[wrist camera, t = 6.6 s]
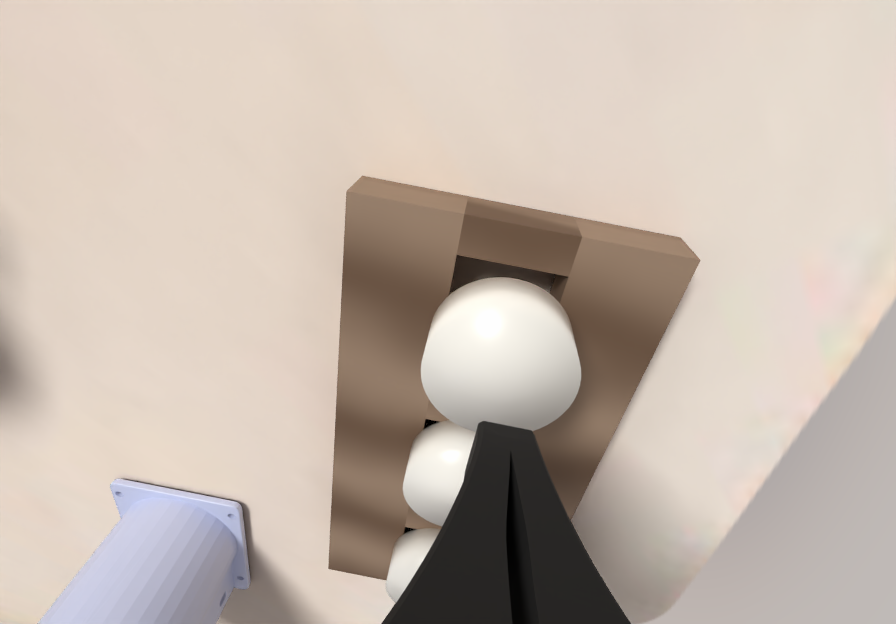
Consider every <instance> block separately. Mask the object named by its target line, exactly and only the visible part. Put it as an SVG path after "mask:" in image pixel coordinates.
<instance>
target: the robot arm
mask: <svg viewBox="0 0 896 624" xmlns="http://www.w3.org/2000/svg"><path fill="white" fill-rule="evenodd" d="M110 488H111V491H112V494H113V497H114V500H115V502H116V505H117V508H118V511H119V514H120V517H121V519H120V520H119V522H118V523H117V524H116V525H115V527H114V528H113V529H112V530H111V532H110V533H109V534H108V535H107V537H106V538H105V539H104V540H103V542H102V543H101V544H100V545H99V547H98V548H97V549H96V550H95V552H94V553H93V554H92V555H91V557H90V558H89V559H88V561H87V562H86V563H85V564H84V566H83V567H82V568H81V569H80V571H79V572H78V573H77V574H76V576H75V577H74V578H73V579H72V581H71V582H70V583H69V584H68V586H67V587H66V588H65V589H64V591H63V592H62V593H61V594H60V596H59V597H58V598H57V599H56V601H55V602H54V603H53V604H52V606H51V607H50V608H49V609H48V611H47V612H46V613H45V615H44V616H43V617H42V618H41V620H40V621H39V622H38V623H37V624H216V623H217V621H218V619H219V617H220V614H221V612H222V610H223V608H224V606H225V604H226V602H227V600H228V598H229V596H230V594H231V592H232V590H233V588H238V589H247V588H248V587H249V585H250V583H251V581H250V572H249V563H248V555H247V546H246V538H245V529H244V520H243V512H242V507H241V505H240V504H239V503H237V502H235V501H231V500H226V499H221V498H215V497H210V496H205V495H200V494H195V493H190V492H185V491H180V490H175V489H170V488H165V487H160V486H155V485H150V484H145V483H139V482H134V481H129V480H124V479H115V480H114V481H113V482H112V483H111V484H110ZM382 624H631V623H630V622H629V620H628V619H627V617H626V616H625V614H624V612H623V611H622V609H621V608H620V606H619V605H618V603H617V602H616V600H615V599H614V597H613V595H612V594H611V592H610V591H609V589H608V587H607V586H606V584H605V582H604V581H603V579H602V577H601V576H600V574H599V573H598V571H597V569H596V567H595V566H594V564H593V562H592V560H591V559H590V557H589V555H588V553H587V551H586V550H585V548H584V546H583V544H582V542H581V540H580V538H579V536H578V534H577V532H576V531H575V529H574V527H573V525H572V523H571V521H570V519H569V517H568V514H567V512H566V510H565V508H564V506H563V504H562V502H561V499H560V497H559V495H558V493H557V491H556V488H555V486H554V484H553V482H552V479H551V477H550V474H549V472H548V469H547V467H546V465H545V462H544V459H543V457H542V454H541V452H540V449H539V446H538V443H537V440H536V437H535V435H534V433H533V432H532V430H528V429H523V428H518V427H513V426H508V425H503V424H498V423H492V422H487V421H482V422H480V423H478V426H477V430H476V434H475V437H474V441H473V444H472V448H471V451H470V455H469V458H468V462H467V466H466V469H465V475H464V481H463V483H462V486H461V488H460V491H459V493H458V495H457V497H456V499H455V501H454V504H453V506H452V508H451V510H450V512H449V514H448V516H447V518H446V520H445V522H444V524H443V526H442V528H441V530H440V532H439V533H438V535H437V537H436V539H435V541H434V543H433V544H432V546H431V548H430V550H429V551H428V553H427V555H426V557H425V558H424V560H423V561H422V563H421V565H420V566H419V568H418V570H417V571H416V573H415V575H414V576H413V578H412V579H411V581H410V583H409V584H408V586H407V587H406V589H405V590H404V592H403V593H402V595H401V596H400V598H399V599H398V601H397V602H396V604H395V605H394V607H393V608H392V609H391V611H390V612H389V614H388V615H387V617H386V618H385V619H384V621H383V622H382Z"/></svg>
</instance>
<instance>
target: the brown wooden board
mask: <svg viewBox="0 0 896 624" xmlns="http://www.w3.org/2000/svg"><path fill="white" fill-rule="evenodd" d="M457 255H460V256H465V257H470V258H475V259H480V260H486V261H491V262H496V263H501V264H506V265H511V266H516V267H522V268H527V269H532V270H537V271H542V272H547V273H552V274H556V276H555V279H554V282H553V285H552V288H551V291H550V294H551V295H552V296H553V297H554V298H555V299H556V300H557V301H558V302H559V303H560V304H561V306H562V307H563V308H564V310H565V312H566V313H567V315H568V318H569V320H570V323H571V327H572V331H573V335H574V340H575V344H576V348H577V352H578V357H579V361H580V366H581V382H580V387H579V390H578V393H577V395H576V397H575V399H574V401H573V403H572V404H571V405H570V407H569V408H568V409H567V410H566V411H565V412H564V413H563V414H562V415H561V416H560V417H559V418H557V419H556V420H555V421H553V422H551V423H550V424H548V425H546V426H544V427H542V428H540V429H537V430H534V431H532V432H533V433H534V435H535V437H536V440H537V443H538V446H539V449H540V452H541V454H542V457H543V459H544V462H545V465H546V467H547V469H548V472H549V474H550V477H551V479H552V482H553V484H554V486H555V488H556V491H557V493H558V495H559V497H560V499H561V502H562V504H563V506H564V508H565V510H566V512H567V514H568V517H569V519H570V520H571V518H572V516H573V514H574V512H575V510H576V508H577V506H578V504H579V502H580V500H581V498H582V496H583V494H584V492H585V490H586V488H587V486H588V484H589V482H590V480H591V478H592V476H593V474H594V472H595V470H596V468H597V466H598V464H599V462H600V460H601V458H602V456H603V454H604V452H605V450H606V448H607V446H608V444H609V442H610V440H611V438H612V436H613V434H614V432H615V430H616V428H617V426H618V424H619V422H620V420H621V418H622V416H623V414H624V412H625V410H626V408H627V406H628V404H629V402H630V400H631V398H632V396H633V394H634V392H635V390H636V388H637V386H638V384H639V382H640V380H641V378H642V376H643V374H644V372H645V370H646V368H647V366H648V364H649V362H650V360H651V358H652V356H653V354H654V352H655V350H656V348H657V346H658V344H659V342H660V340H661V338H662V336H663V334H664V332H665V330H666V328H667V326H668V324H669V322H670V320H671V318H672V316H673V314H674V312H675V310H676V308H677V306H678V304H679V302H680V300H681V298H682V296H683V294H684V292H685V290H686V288H687V286H688V284H689V282H690V280H691V278H692V276H693V274H694V272H695V270H696V268H697V266H698V264H699V262H700V259H699V258H698V257H697V256H696V254H695V253H694V252H693V251H692V250H691V249H690V248H689V247H688V245H687V244H686V243H685V242H684V241H683V240H682V239H681V238H679V237H674V236H669V235H664V234H659V233H654V232H648V231H643V230H638V229H633V228H628V227H623V226H618V225H612V224H607V223H602V222H597V221H592V220H587V219H582V218H576V217H571V216H566V215H561V214H556V213H551V212H545V211H540V210H535V209H530V208H525V207H520V206H515V205H509V204H504V203H499V202H494V201H489V200H484V199H479V198H473V197H468V196H463V195H458V194H453V193H448V192H443V191H437V190H432V189H427V188H422V187H417V186H412V185H407V184H401V183H396V182H391V181H386V180H381V179H376V178H371V177H365V176H362V177H361V178H360V179H359V180H358V181H357V182H356V183H355V184H354V185H352V186H351V187H350V188H349V189H348V190H347V193H346V214H345V235H344V256H343V276H342V297H341V318H340V339H339V360H338V381H337V401H336V422H335V443H334V464H333V485H332V506H331V526H330V547H329V568H328V569H332V570H337V571H342V572H347V573H352V574H357V575H362V576H367V577H372V578H377V579H382V580H387V576H388V571H389V567H390V562H391V558H392V553H393V548H394V544H395V542H396V541H397V539H398V538H399V537H400V536H402V535H403V534H404V531H405V527H409V528H414V529H423V528H434V529H441V528H442V526H439V525H436V524H434V523H431V522H429V521H427V520H425V519H424V518H422V517H421V516H419V515H418V514H417V513H416V512H414V511H413V510H412V508H411V507H410V506H409V505H408V503H407V501H406V500H405V497H404V494H403V482H404V478H405V473H406V469H407V464H408V460H409V455H410V451H411V447H412V443H413V441H414V439H415V438H416V436H417V435H418V434H419V433H420V432H421V431H422V430H424V426H425V421H426V419H429V420H434V421H439V422H442V421H447V420H449V419H447V418H446V417H445V416H443V415H442V414H441V413H440V412H439V411H438V410H437V409H436V408H435V407H434V405H433V404H432V403H431V402H430V400H429V398H428V396H427V395H426V393H425V390H424V388H423V384H422V380H421V362H422V358H423V354H424V350H425V346H426V342H427V338H428V334H429V330H430V327H431V323H432V319H433V317H434V314H435V312H436V311H437V309H438V307H439V306H440V304H441V303H442V302H443V301H444V300H445V299H446V298H447V297H448V296H449V295H450V290H451V284H452V279H453V274H454V269H455V263H456V258H457Z"/></svg>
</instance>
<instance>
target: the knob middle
mask: <svg viewBox="0 0 896 624" xmlns="http://www.w3.org/2000/svg"><path fill="white" fill-rule="evenodd" d="M475 434H476V432H474V431H471V430H468V429H465V428H463V427H461V426H459V425H457V424H455V423H454V422H452V421H450V420H447V421H442V422H439V421H438V423H435V424H433V425H430V426H428V427H427V428H425V429H424V430H422V431H421V432H420V433H419V434H418V435H417V436H416V438H415V439H414V441H413V443H412V447H411V451H410V455H409V460H408V464H407V469H406V473H405V478H404V482H403V494H404V497H405V500H406V501H407V503H408V505H409V506H410V507H411V508H412V510H413V511H414V512H416V513H417V514H418V515H419V516H421V517H422V518H424V519H425V520H427V521H429V522H431V523H434V524H436V525H439V526H443V524H444V522H445V520H446V518H447V516H448V514H449V512H450V510H451V508H452V506H453V504H454V501H455V499H456V497H457V495H458V493H459V491H460V488H461V486H462V483H463V481H464V475H465V469H466V466H467V462H468V458H469V455H470V451H471V448H472V444H473V441H474V437H475Z"/></svg>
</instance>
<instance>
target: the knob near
mask: <svg viewBox="0 0 896 624" xmlns="http://www.w3.org/2000/svg"><path fill="white" fill-rule="evenodd" d="M421 380H422V384H423V388H424V390H425V393H426V395H427V396H428V398H429V400H430V402H431V403H432V404H433V405H434V407H435V408H436V409H437V410H438V411H439V412H440V413H441V414H442V415H443V416H445V417H446V418H447V419H449V420H450V421H452V422H454V423H455V424H457V425H459V426H461V427H463V428H465V429H468V430H471V431H474V432H476V430H477V426H478V423H480V422H482V421H487V422H492V423H498V424H503V425H508V426H513V427H518V428H523V429H528V430H532V431H534V430H537V429H540V428H542V427H544V426H546V425H548V424H550V423H551V422H553V421H555V420H556V419H557V418H559V417H560V416H561V415H562V414H563V413H564V412H565V411H566V410H567V409H568V408H569V407H570V405H571V404H572V403H573V401H574V399H575V397H576V395H577V393H578V390H579V387H580V382H581V366H580V361H579V357H578V352H577V348H576V344H575V340H574V335H573V331H572V327H571V323H570V320H569V318H568V315H567V313H566V312H565V310H564V308H563V307H562V306H561V304H560V303H559V302H558V301H557V300H556V299H555V298H554V297H553V296H552V295H551V294H550V293H548V292H547V291H545V290H544V289H542V288H540V287H539V286H537V285H535V284H532V283H530V282H527V281H523V280H519V279H515V278H507V277H494V278H486V279H481V280H477V281H474V282H471V283H468V284H466V285H464V286H462V287H460V288H458V289H457V290H456V291H454V292H453V293H451V294H450V295H449V296H448V297H447V298H446V299H445V300H444V301H443V302H442V303H441V304H440V306H439V307H438V309H437V311H436V312H435V314H434V317H433V319H432V323H431V327H430V330H429V334H428V338H427V342H426V346H425V350H424V354H423V358H422V362H421Z"/></svg>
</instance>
